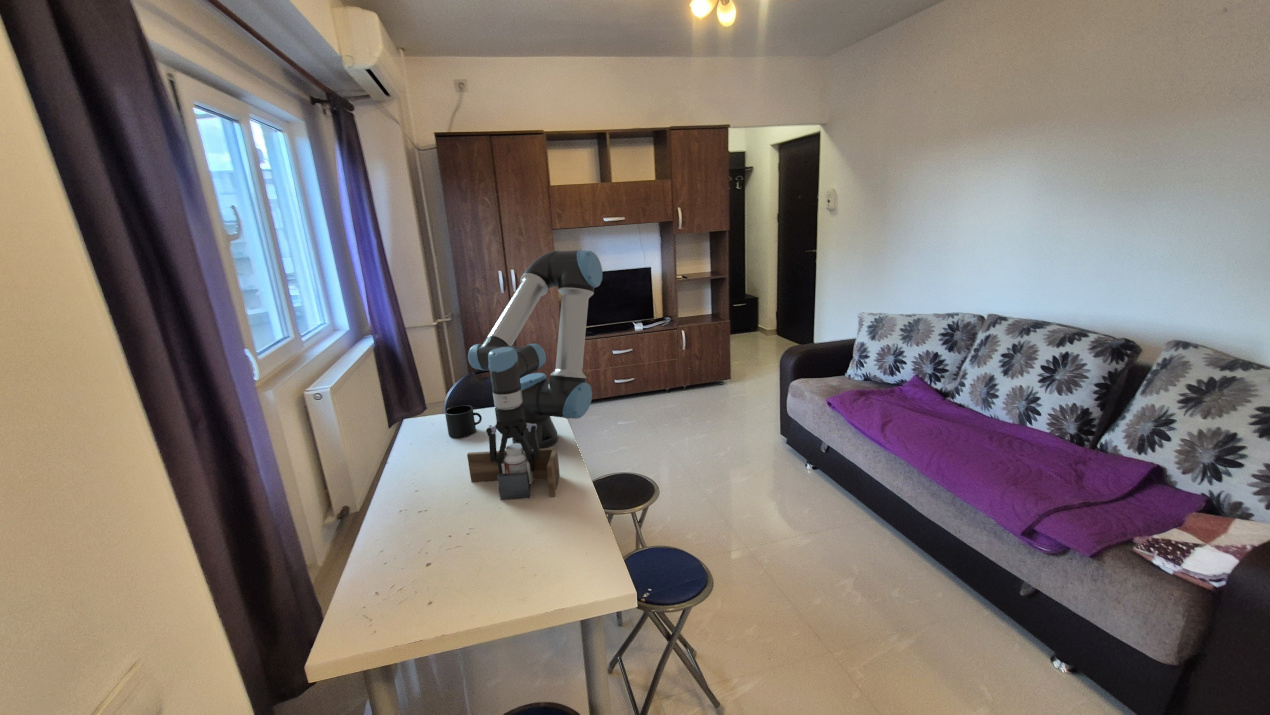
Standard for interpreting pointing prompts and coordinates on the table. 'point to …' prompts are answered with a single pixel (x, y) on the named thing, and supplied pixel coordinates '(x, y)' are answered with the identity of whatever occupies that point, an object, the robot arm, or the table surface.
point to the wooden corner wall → (489, 471)
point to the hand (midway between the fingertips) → (518, 481)
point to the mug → (461, 421)
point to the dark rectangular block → (514, 486)
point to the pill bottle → (515, 459)
